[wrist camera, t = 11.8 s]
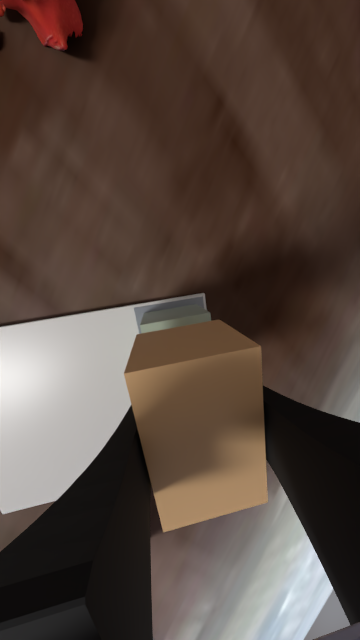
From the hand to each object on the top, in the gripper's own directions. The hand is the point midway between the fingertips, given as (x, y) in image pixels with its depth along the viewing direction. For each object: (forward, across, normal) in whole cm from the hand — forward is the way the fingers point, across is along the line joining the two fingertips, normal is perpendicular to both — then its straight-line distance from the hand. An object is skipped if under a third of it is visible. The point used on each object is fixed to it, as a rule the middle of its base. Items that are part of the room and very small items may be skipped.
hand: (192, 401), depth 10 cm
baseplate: (+9, +9, +5) cm, 13 cm away
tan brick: (+1, 0, 0) cm, 1 cm away
